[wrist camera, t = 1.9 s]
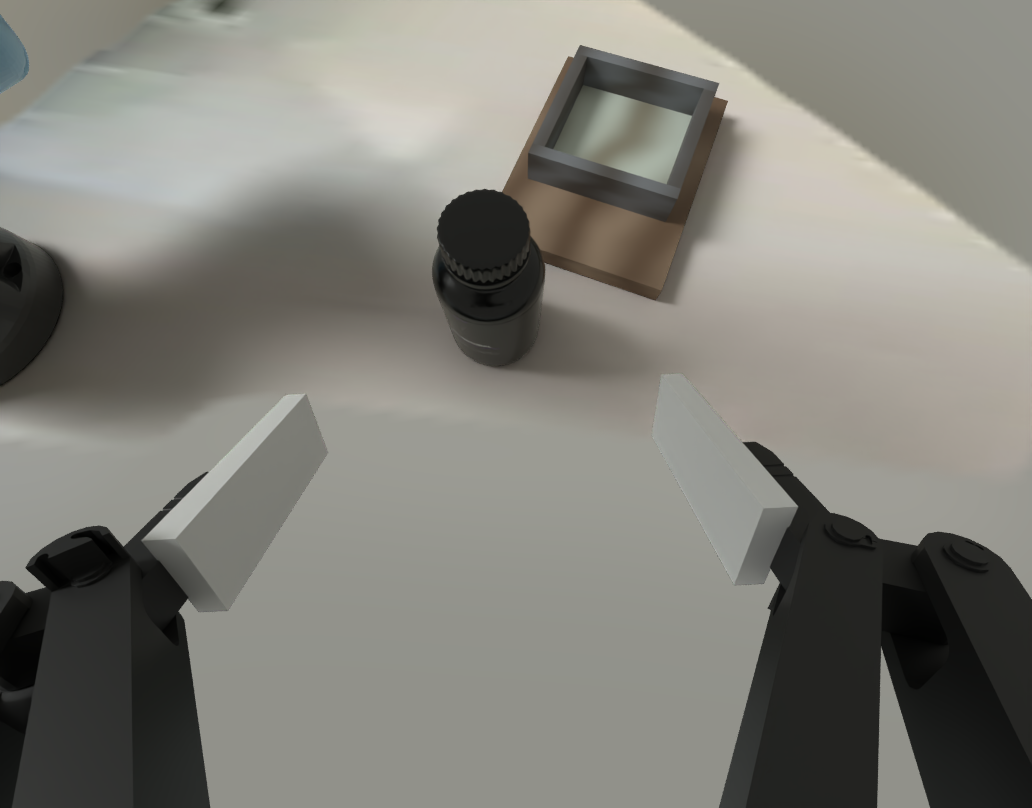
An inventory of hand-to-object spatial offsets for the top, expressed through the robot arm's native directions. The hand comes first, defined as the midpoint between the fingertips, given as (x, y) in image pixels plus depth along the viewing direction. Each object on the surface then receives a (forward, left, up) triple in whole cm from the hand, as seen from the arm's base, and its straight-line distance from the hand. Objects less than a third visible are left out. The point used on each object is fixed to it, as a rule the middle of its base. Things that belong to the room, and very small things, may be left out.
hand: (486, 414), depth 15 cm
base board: (-1, +26, -14) cm, 30 cm away
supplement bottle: (-4, +9, -15) cm, 18 cm away
